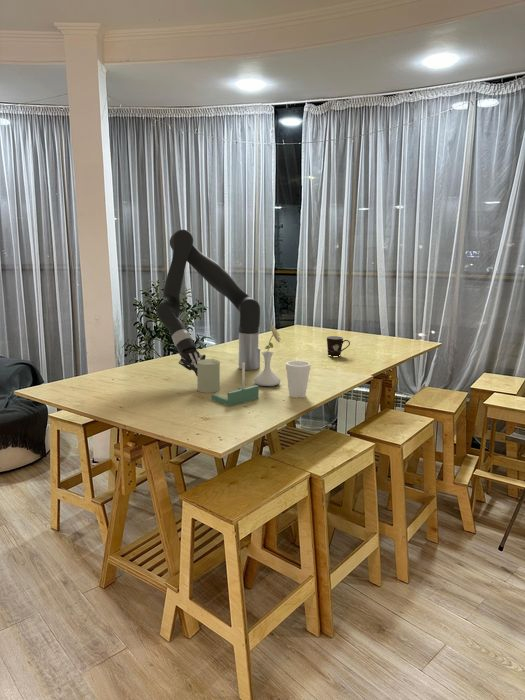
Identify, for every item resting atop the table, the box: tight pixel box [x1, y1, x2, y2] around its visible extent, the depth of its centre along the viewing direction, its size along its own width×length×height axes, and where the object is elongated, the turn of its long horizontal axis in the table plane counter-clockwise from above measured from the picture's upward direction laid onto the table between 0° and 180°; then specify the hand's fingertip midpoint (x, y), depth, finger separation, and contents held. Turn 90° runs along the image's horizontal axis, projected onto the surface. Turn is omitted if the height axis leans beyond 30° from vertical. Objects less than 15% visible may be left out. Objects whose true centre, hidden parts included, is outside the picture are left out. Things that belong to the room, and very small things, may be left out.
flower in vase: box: [253, 325, 282, 387], centre depth 207 cm, size 13×11×25 cm
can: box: [196, 358, 221, 394], centre depth 200 cm, size 9×9×12 cm
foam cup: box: [285, 360, 312, 398], centre depth 193 cm, size 10×9×13 cm
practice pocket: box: [210, 363, 260, 407], centre depth 188 cm, size 11×14×15 cm
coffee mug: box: [326, 335, 351, 356], centre depth 261 cm, size 12×9×10 cm
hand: (201, 376), depth 204 cm, fingers closed
